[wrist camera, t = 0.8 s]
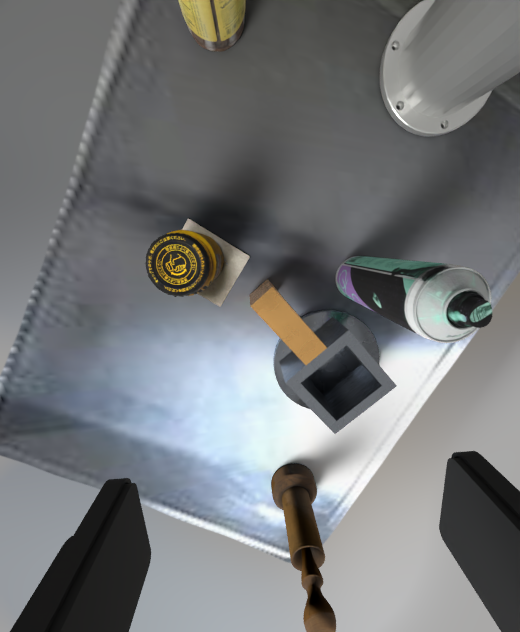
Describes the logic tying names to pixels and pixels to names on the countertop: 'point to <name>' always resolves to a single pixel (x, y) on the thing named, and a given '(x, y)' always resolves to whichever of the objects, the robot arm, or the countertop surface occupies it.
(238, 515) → the countertop surface
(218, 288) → the condiment
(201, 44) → the sauce bottle
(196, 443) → the countertop surface
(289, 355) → the grey square saucepan
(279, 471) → the brown wooden tall piece
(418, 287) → the spray can
